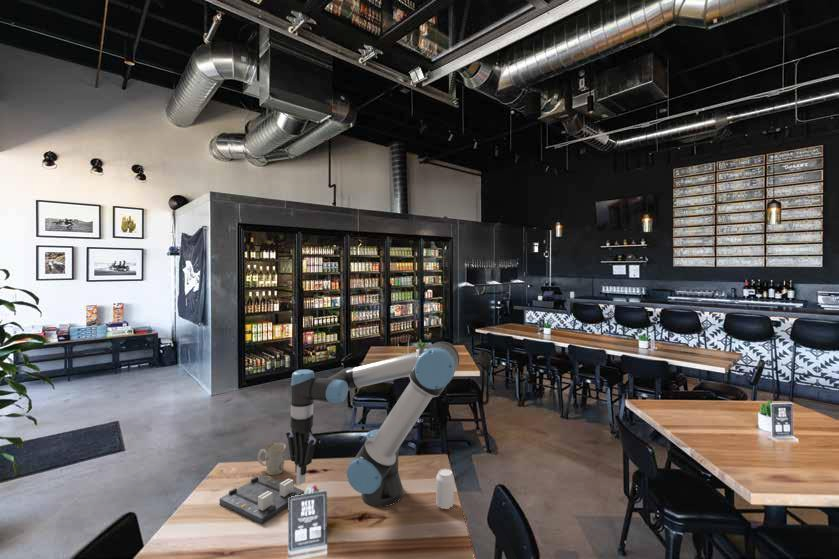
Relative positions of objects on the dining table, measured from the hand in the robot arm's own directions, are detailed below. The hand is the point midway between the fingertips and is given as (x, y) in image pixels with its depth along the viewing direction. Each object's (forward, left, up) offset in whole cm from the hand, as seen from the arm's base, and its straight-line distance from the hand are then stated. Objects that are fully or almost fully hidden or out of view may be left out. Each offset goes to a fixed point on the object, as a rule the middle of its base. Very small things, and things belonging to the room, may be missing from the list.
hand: (300, 482), depth 131 cm
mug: (+28, -11, -8) cm, 31 cm away
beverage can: (-44, -25, -8) cm, 51 cm away
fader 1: (+7, +9, -6) cm, 13 cm away
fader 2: (+7, 0, -6) cm, 9 cm away
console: (+14, +4, -8) cm, 17 cm away
